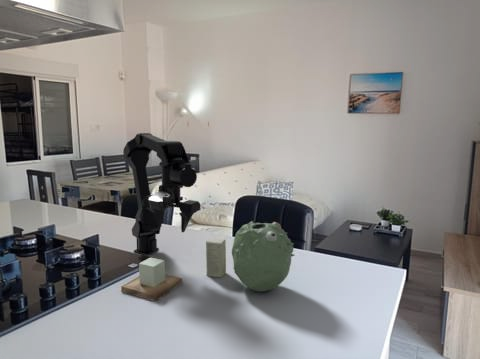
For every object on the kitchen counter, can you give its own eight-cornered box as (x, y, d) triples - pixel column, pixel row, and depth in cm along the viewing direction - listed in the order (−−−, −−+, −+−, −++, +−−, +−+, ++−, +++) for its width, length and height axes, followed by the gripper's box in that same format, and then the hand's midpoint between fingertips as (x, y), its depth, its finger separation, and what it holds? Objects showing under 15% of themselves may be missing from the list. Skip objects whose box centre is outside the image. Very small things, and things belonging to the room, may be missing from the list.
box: (226, 272, 114) (226, 239, 112) (221, 278, 110) (221, 243, 108) (211, 270, 116) (211, 237, 114) (205, 275, 112) (205, 241, 110)
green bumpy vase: (245, 271, 115) (246, 210, 112) (301, 286, 105) (304, 220, 102) (217, 291, 102) (218, 222, 98) (278, 309, 92) (281, 234, 89)
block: (139, 283, 102) (139, 263, 101) (150, 276, 106) (150, 257, 105) (154, 287, 100) (153, 266, 99) (164, 280, 104) (164, 260, 103)
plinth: (121, 291, 100) (121, 286, 100) (149, 275, 111) (149, 270, 111) (156, 300, 95) (156, 295, 95) (181, 282, 106) (181, 277, 106)
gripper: (129, 182, 109) (131, 231, 112) (180, 189, 101) (180, 242, 104) (154, 177, 119) (154, 222, 122) (201, 183, 111) (201, 232, 114)
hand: (171, 229), depth 115 cm, fingers open, 9 cm apart
